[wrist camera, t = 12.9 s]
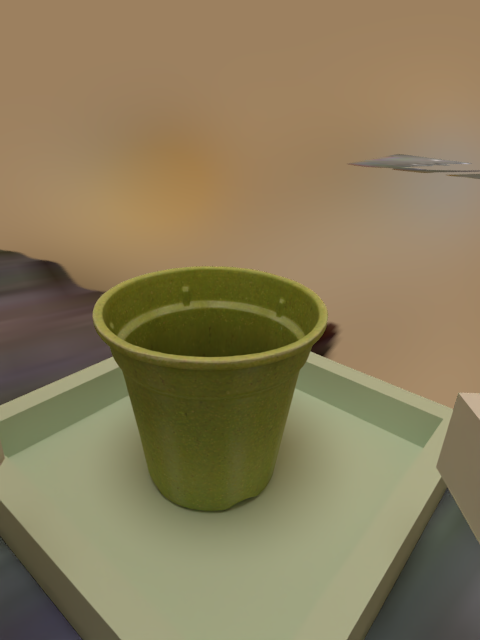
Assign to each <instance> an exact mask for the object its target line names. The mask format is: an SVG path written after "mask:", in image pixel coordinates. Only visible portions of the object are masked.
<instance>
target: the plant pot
mask: <svg viewBox="0 0 480 640" xmlns="http://www.w3.org/2000/svg"><path fill="white" fill-rule="evenodd" d="M327 320H328V311H327V308H326V305H325V304H324V302H323V301H322V300H321V299H320V298H319V296H318V295H317V294H316V293H314V292H313V291H312V290H310V289H309V288H307V287H305V286H303V285H302V284H300V283H298V282H296V281H293V280H290V279H287V278H284V277H280V276H277V275H274V274H271V273H267V272H262V271H258V270H253V269H242V268H236V267H213V266H199V267H197V266H196V267H185V268H174V269H168V270H162V271H157V272H152V273H148V274H144V275H141V276H138V277H135V278H132V279H129V280H127V281H124V282H122V283H120V284H118V285H116V286H115V287H113V288H111V289H110V290H108V291H107V292H106V293H104V294H103V295H102V296H101V297H100V298H99V299H98V301H97V302H96V304H95V307H94V310H93V323H94V327H95V329H96V331H97V333H98V335H99V336H100V337H101V339H102V340H103V341H104V342H105V343H106V344H107V345H109V346H110V349H111V352H112V355H113V357H114V360H115V361H116V363H117V364H118V366H119V367H120V368H121V370H122V372H123V375H124V379H125V382H126V386H127V390H128V393H129V397H130V401H131V405H132V408H133V412H134V416H135V419H136V423H137V427H138V431H139V434H140V438H141V443H142V447H143V451H144V455H145V459H146V463H147V467H148V471H149V474H150V476H151V478H152V480H153V481H154V483H155V485H156V486H157V488H158V489H159V491H160V492H161V494H162V495H164V496H165V497H166V498H167V499H169V500H170V501H172V502H174V503H176V504H178V505H181V506H183V507H186V508H190V509H195V510H203V511H218V510H225V509H228V508H230V507H231V506H233V505H234V504H236V503H238V502H240V501H242V500H245V499H247V498H250V497H255V496H257V495H258V494H260V493H261V492H262V491H263V490H264V489H265V487H266V486H267V484H268V483H269V481H270V479H271V477H272V475H273V471H274V467H275V463H276V460H277V456H278V452H279V448H280V444H281V440H282V436H283V432H284V428H285V424H286V421H287V417H288V413H289V409H290V405H291V402H292V398H293V394H294V390H295V386H296V382H297V379H298V375H299V372H300V369H301V368H302V367H303V366H304V364H305V363H306V361H307V359H308V357H309V354H310V351H311V347H312V345H313V344H314V343H316V342H317V341H318V339H319V338H320V337H321V336H322V334H323V333H324V331H325V329H326V326H327Z"/></svg>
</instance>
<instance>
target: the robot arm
mask: <svg viewBox="0 0 480 640" xmlns="http://www.w3.org/2000/svg"><path fill="white" fill-rule="evenodd" d="M4 459H5V456H4V452H3V448H2V444H1V440H0V465H1V464H2V462H3V461H4ZM436 468H437V470H438V471H439V473H440V475H441V477H442V478H443V480H444V482H445V484H446V485H447V487H448V489H449V491H450V493H451V494H452V496H453V498H454V500H455V501H456V503H457V505H458V507H459V508H460V510H461V512H462V514H463V516H464V517H465V519H466V521H467V523H468V524H469V526H470V528H471V530H472V531H473V533H474V535H475V537H476V538H477V540H478V542H479V544H480V393H458V396H457V399H456V402H455V406H454V409H453V412H452V416H451V419H450V422H449V425H448V429H447V432H446V435H445V439H444V442H443V445H442V449H441V452H440V455H439V459H438V462H437V465H436Z"/></svg>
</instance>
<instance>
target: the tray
mask: <svg viewBox="0 0 480 640" xmlns="http://www.w3.org/2000/svg"><path fill="white" fill-rule="evenodd" d="M452 412H453V409H451V408H449V407H446V406H444V405H441V404H439V403H436V402H434V401H431V400H429V399H426V398H424V397H421V396H419V395H416V394H414V393H411V392H409V391H406V390H404V389H402V388H399V387H397V386H394V385H392V384H389V383H386V382H384V381H381V380H379V379H377V378H374V377H372V376H369V375H367V374H364V373H362V372H359V371H357V370H354V369H352V368H350V367H347V366H345V365H342V364H340V363H337V362H335V361H332V360H330V359H327V358H325V357H322V356H320V355H317V354H315V353H312V352H310V354H309V357H308V359H307V361H306V363H305V364H304V366H303V367H302V368H301V369H300V372H299V375H298V379H297V382H296V386H295V390H294V394H293V398H292V402H291V405H290V409H289V413H288V417H287V421H286V424H285V428H284V432H283V436H282V440H281V444H280V448H279V452H278V456H277V460H276V463H275V467H274V471H273V475H272V477H271V479H270V481H269V483H268V484H267V486H266V487H265V489H264V490H263V491H262V492H261V493H260V494H258V495H257V496H255V497H250V498H247V499H245V500H242V501H240V502H238V503H236V504H234V505H233V506H231V507H230V508H228V509H225V510H218V511H203V510H195V509H190V508H186V507H183V506H181V505H178V504H176V503H174V502H172V501H170V500H169V499H167V498H166V497H165V496H164V495H162V494H161V492H160V491H159V489H158V488H157V486H156V485H155V483H154V481H153V480H152V478H151V476H150V474H149V471H148V467H147V463H146V459H145V455H144V451H143V447H142V443H141V438H140V434H139V431H138V427H137V423H136V419H135V416H134V412H133V408H132V405H131V401H130V397H129V393H128V390H127V386H126V382H125V379H124V375H123V372H122V370H121V368H120V367H119V366H118V364H117V363H116V361H115V360H114V357H111V358H109V359H107V360H104V361H102V362H100V363H97V364H95V365H93V366H90V367H88V368H86V369H83V370H81V371H79V372H77V373H74V374H72V375H70V376H67V377H65V378H63V379H60V380H58V381H56V382H54V383H51V384H49V385H47V386H44V387H42V388H40V389H37V390H35V391H33V392H30V393H28V394H26V395H24V396H21V397H19V398H17V399H14V400H12V401H10V402H7V403H5V404H3V405H0V440H1V444H2V448H3V452H4V456H5V459H4V461H3V462H2V464H1V465H0V536H1V538H2V539H3V540H4V541H5V543H6V544H7V545H8V546H9V548H10V549H11V550H12V551H13V553H14V554H15V555H16V557H17V558H18V559H19V560H20V562H21V563H22V564H23V565H24V567H25V568H26V569H27V570H28V572H29V573H30V574H31V575H32V577H33V578H34V579H35V580H36V582H37V583H38V584H39V585H40V587H41V588H42V589H43V590H44V592H45V593H46V594H47V595H48V597H49V598H50V599H51V600H52V602H53V603H54V604H55V605H56V607H57V608H58V609H59V610H60V612H61V613H62V614H63V615H64V617H65V618H66V619H67V620H68V622H69V623H70V624H71V625H72V627H73V628H74V629H75V631H76V632H77V633H78V634H79V636H80V637H81V638H82V639H83V640H364V638H365V636H366V635H367V633H368V631H369V629H370V627H371V626H372V624H373V622H374V620H375V618H376V616H377V615H378V613H379V611H380V609H381V607H382V605H383V604H384V602H385V600H386V598H387V596H388V595H389V593H390V591H391V589H392V587H393V585H394V584H395V582H396V580H397V578H398V576H399V574H400V573H401V571H402V569H403V567H404V565H405V564H406V562H407V560H408V558H409V556H410V554H411V553H412V551H413V549H414V547H415V545H416V543H417V542H418V540H419V538H420V536H421V534H422V533H423V531H424V529H425V527H426V525H427V523H428V522H429V520H430V518H431V516H432V514H433V512H434V511H435V509H436V507H437V505H438V503H439V502H440V500H441V498H442V496H443V494H444V492H445V491H446V489H447V485H446V484H445V482H444V480H443V478H442V477H441V475H440V473H439V471H438V470H437V468H436V465H437V462H438V459H439V455H440V452H441V449H442V445H443V442H444V439H445V435H446V432H447V429H448V425H449V422H450V419H451V416H452Z"/></svg>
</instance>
